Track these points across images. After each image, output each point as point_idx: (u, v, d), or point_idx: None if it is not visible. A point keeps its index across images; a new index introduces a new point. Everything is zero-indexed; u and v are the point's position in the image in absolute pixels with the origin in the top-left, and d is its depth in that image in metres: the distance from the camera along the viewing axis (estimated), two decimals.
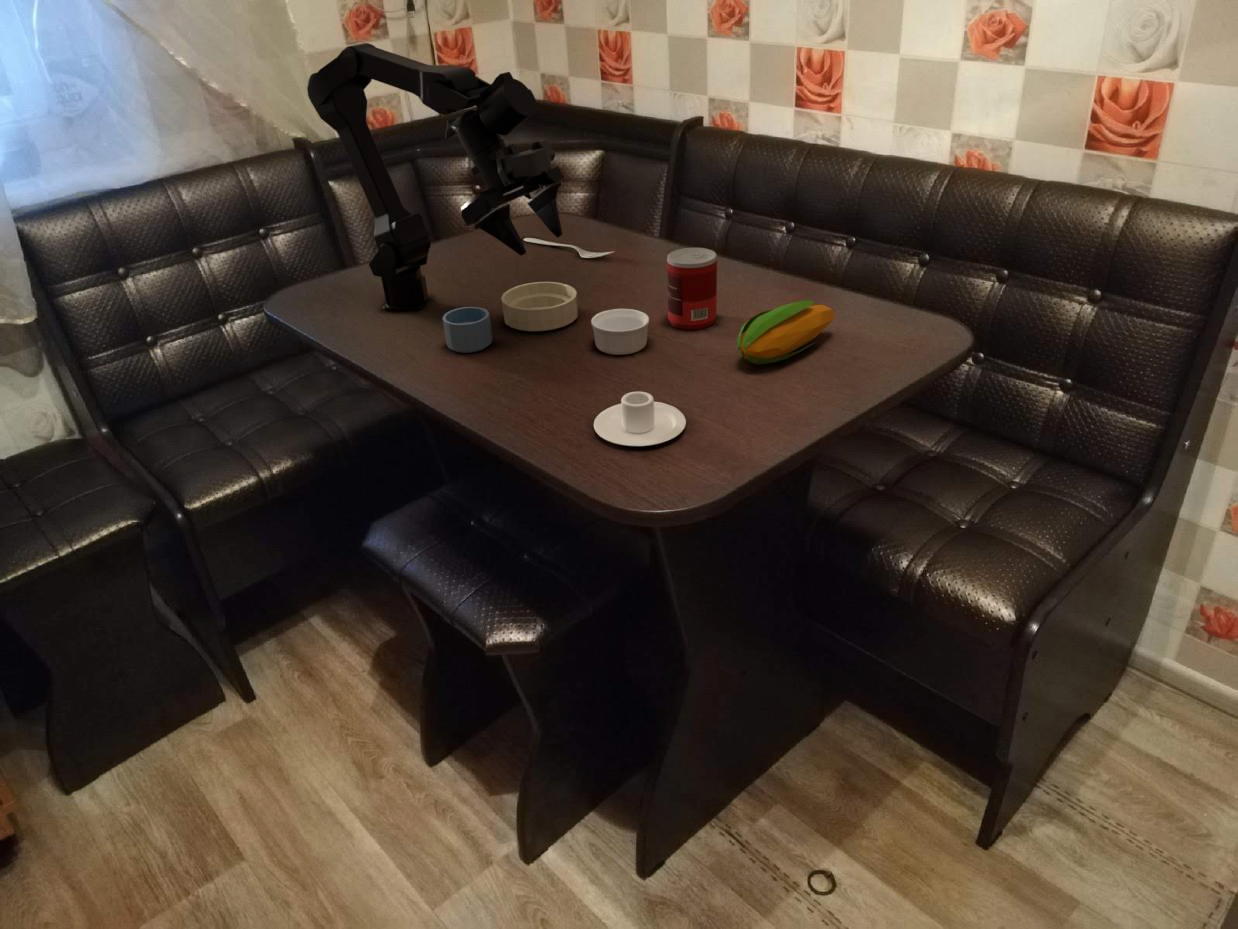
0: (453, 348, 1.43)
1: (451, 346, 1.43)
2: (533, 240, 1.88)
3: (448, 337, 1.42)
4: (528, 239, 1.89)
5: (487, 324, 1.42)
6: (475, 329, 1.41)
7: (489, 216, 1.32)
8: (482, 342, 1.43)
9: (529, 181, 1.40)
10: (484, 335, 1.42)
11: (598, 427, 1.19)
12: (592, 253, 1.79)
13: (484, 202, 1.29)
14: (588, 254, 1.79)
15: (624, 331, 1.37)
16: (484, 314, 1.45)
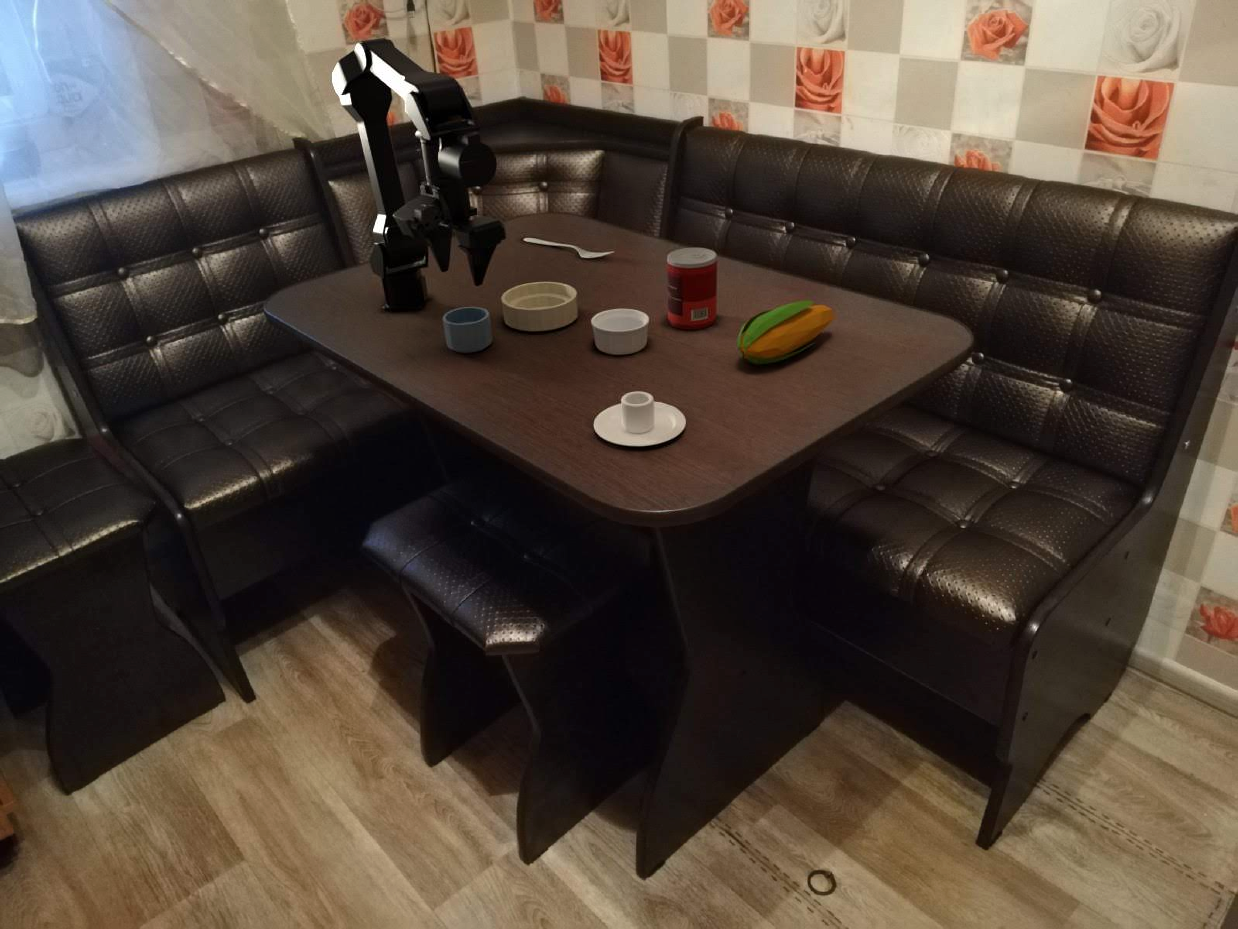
0: (453, 348, 1.43)
1: (451, 346, 1.43)
2: (533, 240, 1.88)
3: (448, 337, 1.42)
4: (528, 239, 1.89)
5: (487, 324, 1.42)
6: (475, 329, 1.41)
7: None
8: (482, 342, 1.43)
9: None
10: (484, 335, 1.42)
11: (598, 427, 1.19)
12: (592, 253, 1.79)
13: None
14: (588, 254, 1.79)
15: (624, 331, 1.37)
16: (484, 314, 1.45)
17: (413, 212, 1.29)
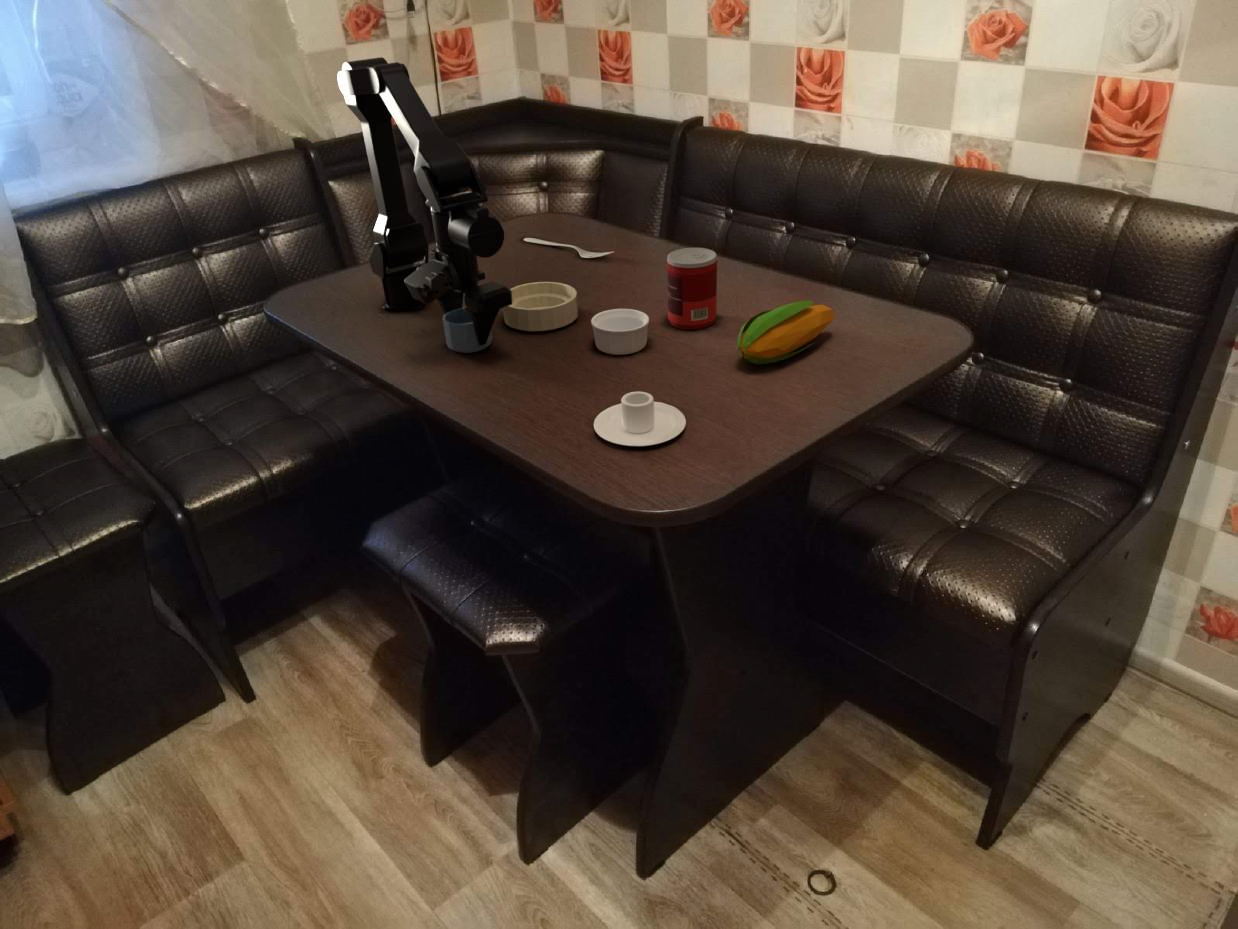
0: (453, 348, 1.43)
1: (451, 346, 1.43)
2: (533, 240, 1.88)
3: (448, 337, 1.42)
4: (528, 239, 1.89)
5: None
6: None
7: None
8: None
9: None
10: None
11: (598, 427, 1.19)
12: (592, 253, 1.79)
13: None
14: (588, 254, 1.79)
15: (624, 331, 1.37)
16: None
17: (423, 279, 1.34)
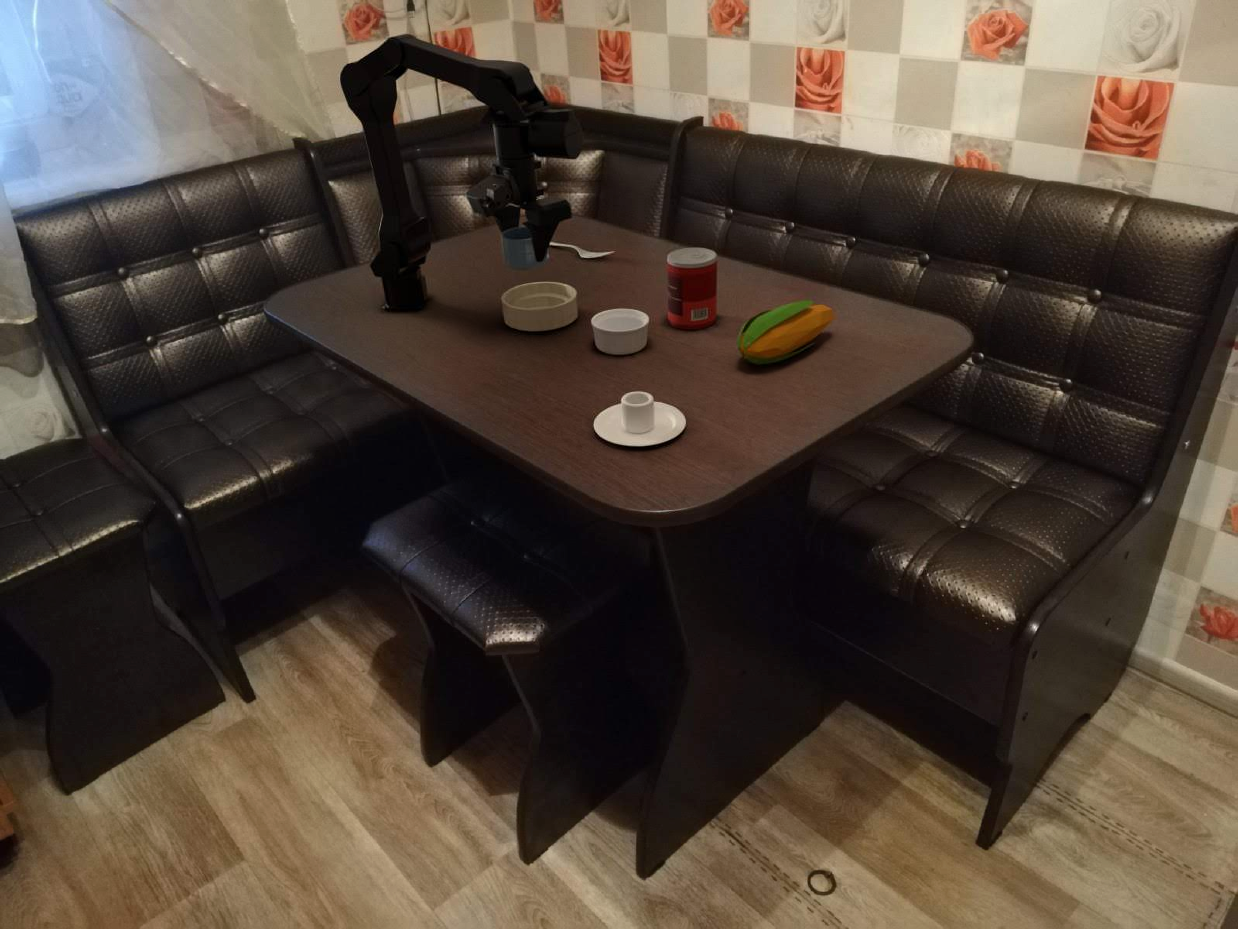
0: (511, 265, 1.44)
1: (509, 263, 1.44)
2: None
3: (506, 254, 1.44)
4: None
5: None
6: None
7: None
8: None
9: None
10: None
11: (598, 427, 1.19)
12: (592, 253, 1.79)
13: None
14: (588, 254, 1.79)
15: (624, 331, 1.37)
16: None
17: (485, 191, 1.36)
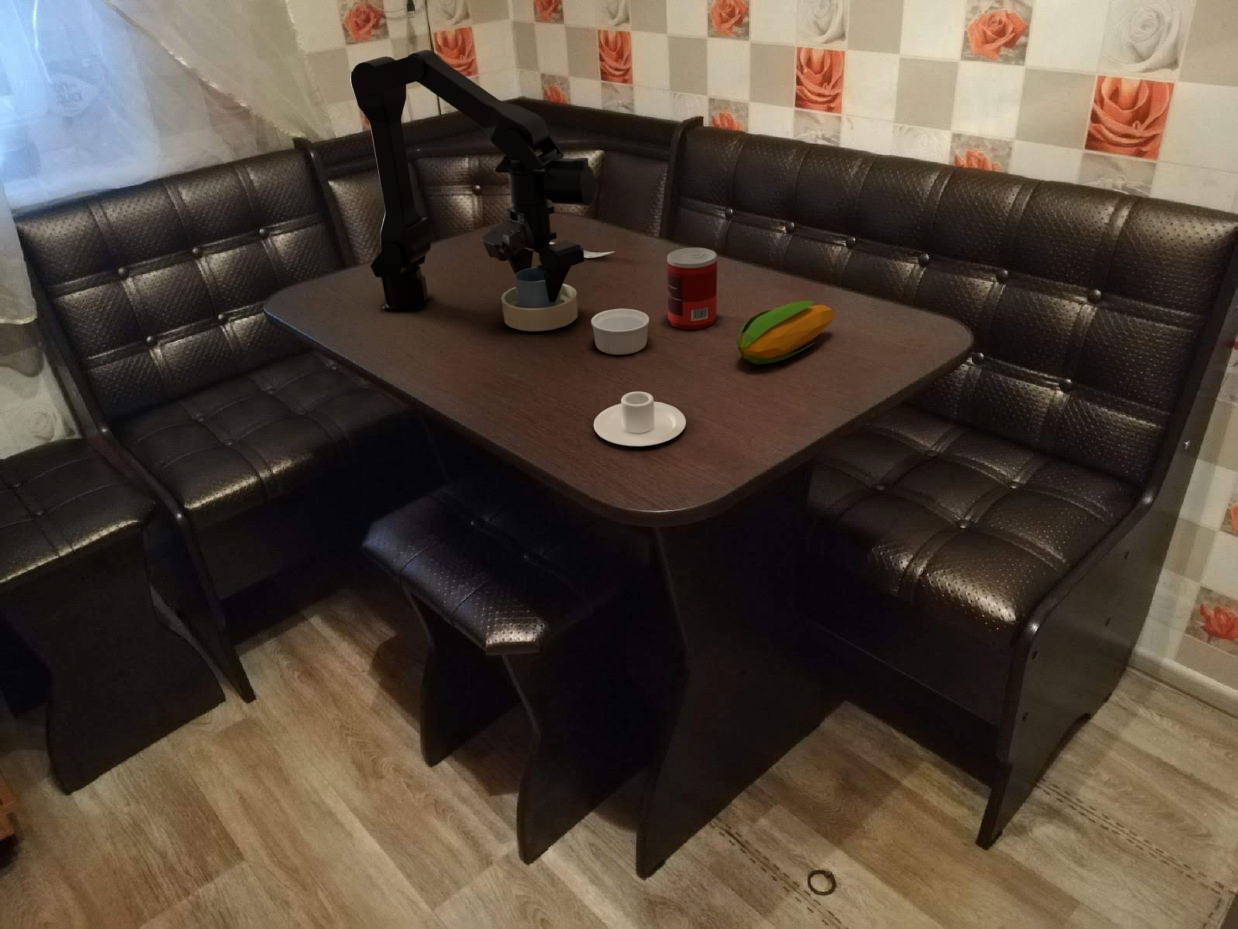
0: (524, 305, 1.49)
1: (522, 303, 1.49)
2: None
3: (520, 295, 1.49)
4: None
5: None
6: None
7: None
8: None
9: None
10: None
11: (598, 427, 1.19)
12: (592, 253, 1.79)
13: None
14: (588, 254, 1.79)
15: (624, 331, 1.37)
16: None
17: (500, 237, 1.41)
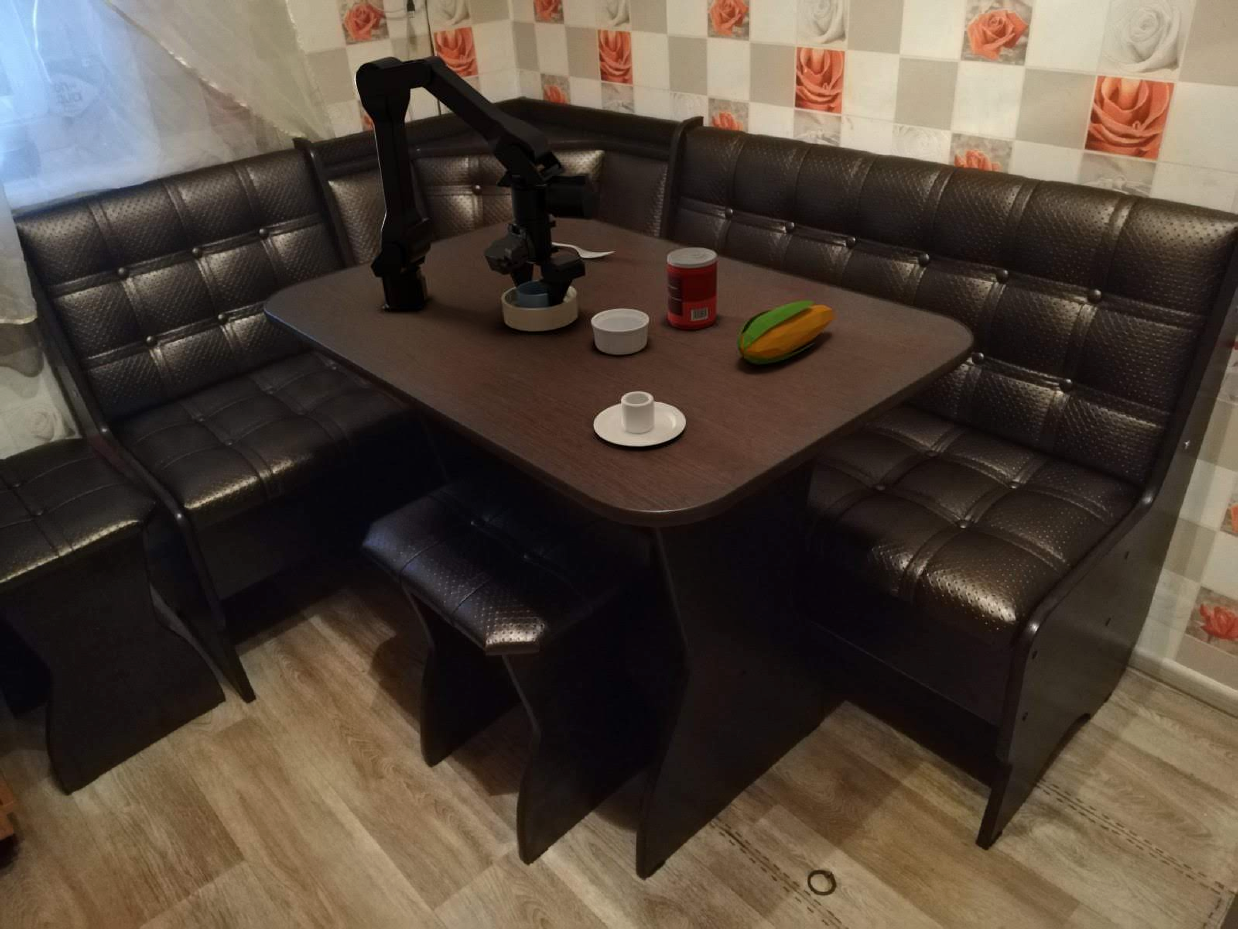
0: None
1: None
2: None
3: None
4: None
5: None
6: None
7: None
8: None
9: None
10: None
11: (598, 427, 1.19)
12: (592, 253, 1.79)
13: None
14: (588, 254, 1.79)
15: (624, 331, 1.37)
16: None
17: (502, 251, 1.42)
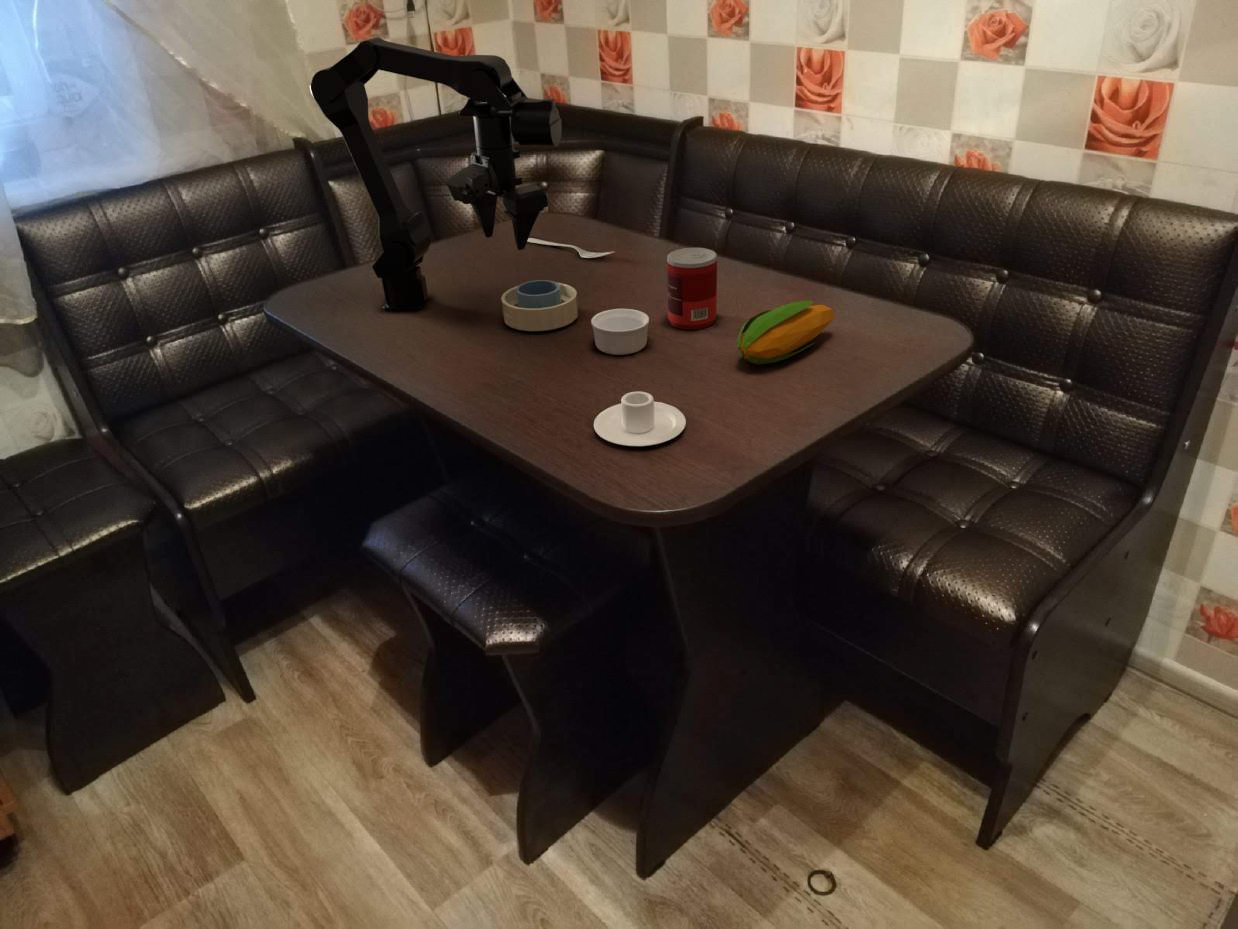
0: None
1: None
2: (533, 240, 1.88)
3: None
4: (528, 239, 1.89)
5: (558, 296, 1.50)
6: (548, 300, 1.48)
7: None
8: None
9: None
10: None
11: (598, 427, 1.19)
12: (592, 253, 1.79)
13: None
14: (588, 254, 1.79)
15: (624, 331, 1.37)
16: (554, 287, 1.52)
17: (464, 179, 1.41)
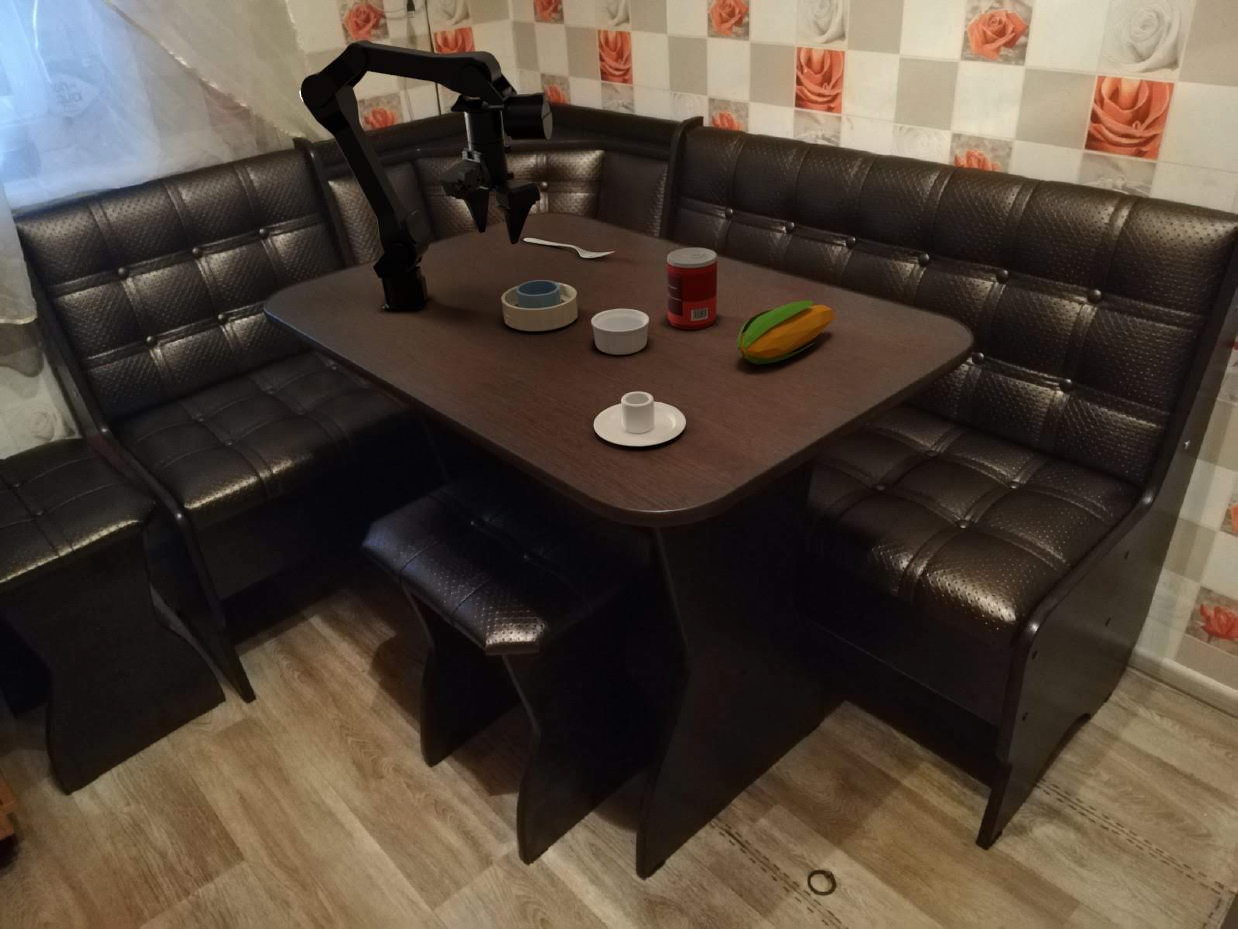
0: None
1: None
2: (533, 240, 1.88)
3: None
4: (528, 239, 1.89)
5: (558, 296, 1.50)
6: (548, 300, 1.48)
7: None
8: None
9: None
10: None
11: (598, 427, 1.19)
12: (592, 253, 1.79)
13: None
14: (588, 254, 1.79)
15: (624, 331, 1.37)
16: (554, 287, 1.52)
17: (457, 175, 1.42)
